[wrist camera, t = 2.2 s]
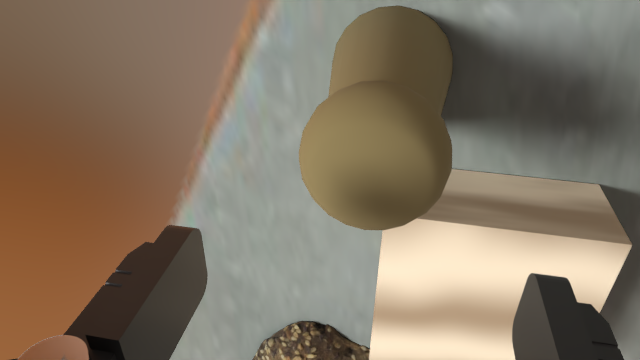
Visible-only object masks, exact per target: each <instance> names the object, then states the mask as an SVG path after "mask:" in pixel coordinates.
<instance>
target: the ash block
mask: <svg viewBox="0 0 640 360" xmlns="http://www.w3.org/2000/svg"><path fill="white" fill-rule="evenodd" d="M631 247H632V243H631V242H630V240H629V238H628V236H627V234H626V233H625V231H624V229H623V227H622V225H621V224H620V222H619V220H618V218H617V216H616V214H615V213H614V211H613V209H612V207H611V205H610V204H609V202H608V200H607V198H606V196H605V195H604V193H603V191H602V189H601V187H600V186H599V184H589V183H580V182H570V181H561V180H552V179H542V178H533V177H523V176H514V175H504V174H495V173H486V172H476V171H467V170H457V169H452V171H451V173H450V176H449V178H448V181H447V183H446V185H445V188H444V190H443V193H442V195H441V197H440V199H439V200H438V201H437V202H436V203H435V204H434V205H433V206H432V207H431V208H430V209H429V211H428V212H427V213H425V214H423V215H422V216H420V217H418V218H416V219H415V220H413V221H411V222H409V223H408V224H406V225H404V226H400V227H396V228H392V229H388V230H383V233H382V242H381V251H380V261H379V270H378V279H377V288H376V298H375V307H374V316H373V326H372V335H371V344H370V354H369V360H515V355H514V349H513V343H512V328H513V321H514V317H515V314H516V311H517V308H518V305H519V302H520V299H521V296H522V293H523V290H524V287H525V284H526V281H527V278H528V276H529V275H530V274H531V273H535V274H543V275H551V276H558V277H565V278H567V279H568V280H569V282H570V284H571V287H572V289H573V292H574V295H575V297H576V300H577V302H579V303H586V304H591V305H592V306H593V307H594V308H595V309H596V310H597V311H598V312H599V313H600V311H601V309H602V307H603V305H604V303H605V301H606V299H607V297H608V295H609V293H610V290H611V288H612V286H613V284H614V282H615V280H616V278H617V276H618V274H619V272H620V270H621V268H622V266H623V264H624V261H625V259H626V257H627V255H628V253H629V251H630V249H631Z"/></svg>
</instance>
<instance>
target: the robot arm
mask: <svg viewBox="0 0 640 360" xmlns="http://www.w3.org/2000/svg"><path fill="white" fill-rule="evenodd" d="M206 285H207V268H206V261H205V255H204V249H203V242H202V236H201V232H200V230H199V229H197V228H190V227H182V226H175V225H169V226H167V227H166V228H165V229H164V230H163V231H162V233H161V234H160V235H159V237H158V238H157V240H156V241H155V242H154V243H149V242H145V243H144V244H142V245H141V246H139V247H138V248H137V249H135V250H133V251H132V252H130V253H129V254H128V255H127V256H126V257H125V258H124V260H123V261H122V262H121V264H120V265H119V266H118V267H117V268H116V272H115V273H112V275H111V276H110V277H109V278H108V280H107V281H106V284H105V285H103V286H102V287H101V289H100V290H99V291H98V292H97V294H96V295H95V296H94V297H93V299H92V300H91V301H90V302H89V304H88V305H87V306H86V307H85V309H84V310H83V311H82V312H81V314H80V315H79V316H78V317H77V319H76V320H75V321H74V322H73V324H72V325H71V326H70V327H69V329H68V330H67V331H66V332H65V333H64V335H60V336H54V337H51V338H48V339H45V340H42V341H40V342H38V343H37V344H35V345H33V346H32V347H30V348H29V349H28V350H26V351H25V352H24V353H23V354H22V355H21V356H20V357H19V358H18V359H12V360H169V359H170V357H171V355H172V353H173V352H174V350H175V348H176V346H177V344H178V342H179V340H180V338H181V337H182V335H183V333H184V331H185V329H186V327H187V325H188V324H189V322H190V320H191V318H192V316H193V314H194V312H195V310H196V309H197V307H198V305H199V303H200V301H201V299H202V297H203V295H204V292H205V289H206ZM512 343H513V349H514V355H515V360H624V359H623V356H622V354H621V351H620V349H618V348H617V346H618V344H617V342H616V340H615V337H614V335H613V332H612V330H611V328H610V325H609V323H608V322H607V321H606V320H605V319H604V318H603V317H602V316H601V315H600V313H599V312H598V311H597V310H596V309H595V308H594V307H593V306H592V305H591V304H586V303H579V302H577V300H576V297H575V295H574V292H573V289H572V287H571V284H570V282H569V280H568V279H567V278H565V277H558V276H551V275H543V274H535V273H531V274H530V275H529V276H528V278H527V281H526V284H525V287H524V290H523V293H522V296H521V299H520V302H519V305H518V308H517V311H516V314H515V317H514V321H513V328H512Z"/></svg>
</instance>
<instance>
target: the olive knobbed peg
mask: <svg viewBox="0 0 640 360" xmlns="http://www.w3.org/2000/svg"><path fill="white" fill-rule="evenodd" d="M452 68H453V54H452V51H451V48H450V45H449V42H448V39H447V36H446V35H445V34H444V32H443V31H442V30H441V28H440V27H439V26H438V25H437V23H436V22H435V21H434V20H432V19H431V18H429V17H428V16H426V15H424V14H423V13H421V12H420V11H418V10H414V9H410V8H406V7H402V6H390V7H378V8H376V9H374V10H372V11H369V12H367V13H365V14H362V15H360V16H359V17H358V18H357V19H356V20H354V21H353V22H352V23H351V24H350V25H349V26H348V27H347V28H346V29H345V30H344V32H343V34H342V36H341V37H340V39H339V41H338V42H337V44H336V48H335V53H334V58H333V63H332V72H331V80H330V89H329V97H328V98H327V99H326V100H325V101H324V102H322V103H321V104H320V105H319V106H318V107H317V108H316V110H315V112H314V113H313V115H312V117H311V118H310V120H309V121H308V123H307V125H306V127H305V129H304V130H303V134H302V139H301V144H300V149H299V162H300V168H301V174H302V180H303V182H304V183H305V185H306V187H307V189H308V191H309V193H310V195H311V196H312V198H313V199H314V200H315V202H316V203H317V204H318V205H319V206H320V207H321V208H322V209H323V210H324V211H325V212H326V213H327V214H328V215H330V216H332V217H333V218H335V219H337V220H339V221H340V222H342V223H344V224H346V225H349V226H353V227H357V228H360V229H364V230H388V229H392V228H396V227H400V226H404V225H406V224H408V223H409V222H411V221H413V220H415V219H416V218H418V217H420V216H422V215H423V214H425V213H427V212H428V211H429V209H430V208H431V207H432V206H433V205H434V204H435V203H436V202H437V201H438V200H439V199H440V197H441V195H442V193H443V190H444V188H445V185H446V183H447V181H448V178H449V176H450V173H451V171H452V144H451V139H450V136H449V134H448V131H447V128H446V125H445V122H444V120H443V119H442V117H441V114H442V110H443V106H444V103H445V99H446V95H447V92H448V88H449V84H450V81H451V77H452Z"/></svg>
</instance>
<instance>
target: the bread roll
mask: <svg viewBox="0 0 640 360" xmlns="http://www.w3.org/2000/svg"><path fill="white" fill-rule="evenodd" d="M369 354H370V349H368V348H367V347H365V346H361V345H359V344H357V343H354V342H352V341H350V340H348V339H346V338H345V337H343V336H341V335H340V334H339V333H338V332H337V331H336V330H335V329H334V328H332V327H331V326H329V325H322V324H317V323H314V322H306V321H301V322H297V323H294V324H292V325H288V326H286V327H285V328H283V329H282V330H280V331H278V332H277V333H275V334H274V335H273V336H272V337H271V338H268V339H266V340H264V341H263V342H262V344H261V346H260V348H259V349H258V351H257V353H256V355H255V356H254V358H253V360H369Z"/></svg>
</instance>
